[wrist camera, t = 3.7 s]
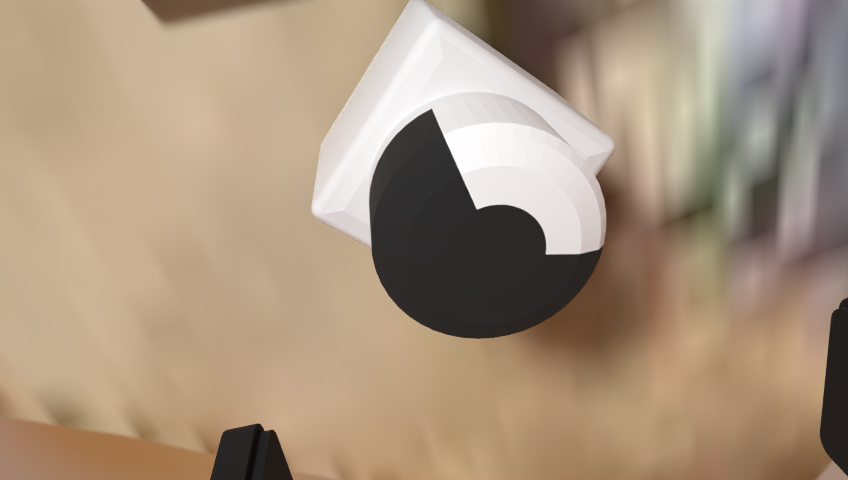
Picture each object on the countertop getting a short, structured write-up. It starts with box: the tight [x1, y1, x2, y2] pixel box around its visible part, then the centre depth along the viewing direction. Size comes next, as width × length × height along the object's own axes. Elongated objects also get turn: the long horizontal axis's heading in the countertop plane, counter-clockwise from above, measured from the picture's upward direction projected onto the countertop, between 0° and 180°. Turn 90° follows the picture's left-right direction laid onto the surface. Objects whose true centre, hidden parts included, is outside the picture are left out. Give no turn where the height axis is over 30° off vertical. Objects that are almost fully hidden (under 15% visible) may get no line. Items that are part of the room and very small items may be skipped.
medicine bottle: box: [311, 0, 615, 339], centre depth 21 cm, size 7×7×12 cm
